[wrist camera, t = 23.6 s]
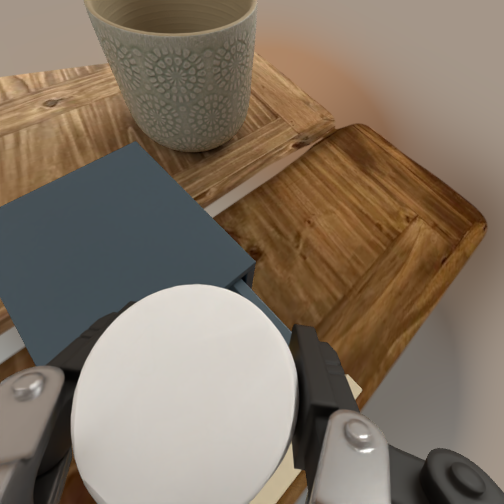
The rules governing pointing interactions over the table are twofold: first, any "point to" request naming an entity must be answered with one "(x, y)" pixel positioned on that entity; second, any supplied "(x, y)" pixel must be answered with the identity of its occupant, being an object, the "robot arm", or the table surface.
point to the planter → (180, 65)
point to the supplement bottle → (185, 401)
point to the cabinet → (105, 248)
